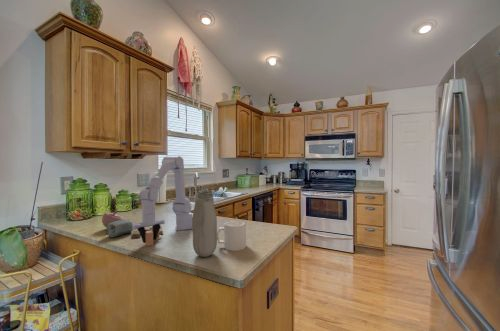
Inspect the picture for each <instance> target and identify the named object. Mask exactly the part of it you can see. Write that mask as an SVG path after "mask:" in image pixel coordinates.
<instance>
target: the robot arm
mask: <svg viewBox="0 0 500 331" xmlns="http://www.w3.org/2000/svg"><path fill="white" fill-rule="evenodd" d="M184 164H185V163H184V158H183V157H182V156H180V155H178V156H167V155H166V156H164V157H163V159H162V160H161V166H160V168H159V170H158V172H157V174H156V176H152V177H151V178H150V181H149V182H148V184H146V186H145V188H142V190H141V191H140V192H139V195H138V198H139V200H140V204H141V206H142V207H141V209H142V210H141V213H142V215H141V216H142V222H140V223H136V224H133V225H132V227H133V231H136V230H138V231H139V233H140V235H141V237H140V238H141V240H142V243H143V244H145V242H146V239H145V233H146V230H145V229H146V228H148V227H151V226H152V227H153V241H157V240H156V238H157V234H158V232H159V230H160V228H161V226H162V225H165V219H157V220H156V200H157V198H158V195H159V190H160V188H161V187H162V184H163V183H164V181H163V179H164V178H165V176H166V175H167V174H168V173H169V171H170V170H171V171H172V172H173V175H174V188H175V199H174V200H173V201H172V211H173V213H174V215H175V226H174V228H175V231H186V230H191V229H192V217H193V212H191V210H192V204H191V200H190V199H189V198H187V196H186V188H185V173H184V169H185V166H184Z"/></svg>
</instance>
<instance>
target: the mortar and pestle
mask: <svg viewBox="0 0 500 331" xmlns="http://www.w3.org/2000/svg"><path fill="white" fill-rule="evenodd" d="M117 213H118V209H115V210H114V212H111V211H110V212H107V211H105V212H104V213H103V215H102V219H101V221H102V222H101V223H102V225H103V226H104V227H105V228H106V227H107V225H108V224H109V223H112V222H115V221H118V220H123V219H126V217H124V216H122V215H118V214H117Z"/></svg>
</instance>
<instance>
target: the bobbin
mask: <svg viewBox="0 0 500 331" xmlns="http://www.w3.org/2000/svg"><path fill="white" fill-rule="evenodd" d="M160 226H161V228H162V229H163V226H162V225H160ZM161 228H160V229H161ZM148 229H150V230H152V231H153V227H152V226H149V228H148ZM162 238H163V235H160V234H159V232H158V234H157V238H156V240H155V241H158V240H159V241H160V240H161V239H162Z"/></svg>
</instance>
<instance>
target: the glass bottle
mask: <svg viewBox="0 0 500 331" xmlns="http://www.w3.org/2000/svg"><path fill="white" fill-rule="evenodd" d="M194 198H195V199H194V207H193V212H192V247H193V250H194V252H195V254H196V255H197V256H199V257H201V258H206V257H210V256H211V255H212V254H214V253H215V252H216V249H217V245H218V240H217V231H218V220H217V219H218V218H217V211H216V208H215V201H214V195H213V193H212V191H211V190H209V189H206V188H205V189H200V190H198V191H197V192H196V194H195V197H194Z"/></svg>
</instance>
